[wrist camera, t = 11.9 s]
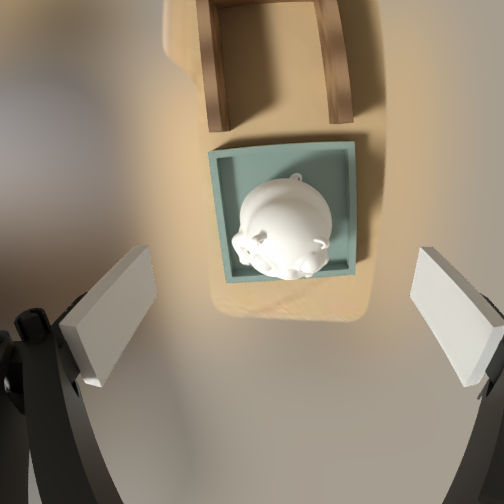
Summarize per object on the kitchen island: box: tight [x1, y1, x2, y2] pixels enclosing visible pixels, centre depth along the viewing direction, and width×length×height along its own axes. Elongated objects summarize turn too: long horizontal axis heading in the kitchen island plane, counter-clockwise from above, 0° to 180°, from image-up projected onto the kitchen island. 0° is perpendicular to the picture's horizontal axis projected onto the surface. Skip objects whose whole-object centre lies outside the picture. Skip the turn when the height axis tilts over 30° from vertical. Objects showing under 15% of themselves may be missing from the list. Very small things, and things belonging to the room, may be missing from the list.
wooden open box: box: [196, 0, 354, 132], centre depth 26 cm, size 17×14×6 cm
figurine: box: [232, 173, 332, 280], centre depth 29 cm, size 10×10×12 cm
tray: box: [208, 141, 357, 283], centre depth 34 cm, size 16×16×2 cm
